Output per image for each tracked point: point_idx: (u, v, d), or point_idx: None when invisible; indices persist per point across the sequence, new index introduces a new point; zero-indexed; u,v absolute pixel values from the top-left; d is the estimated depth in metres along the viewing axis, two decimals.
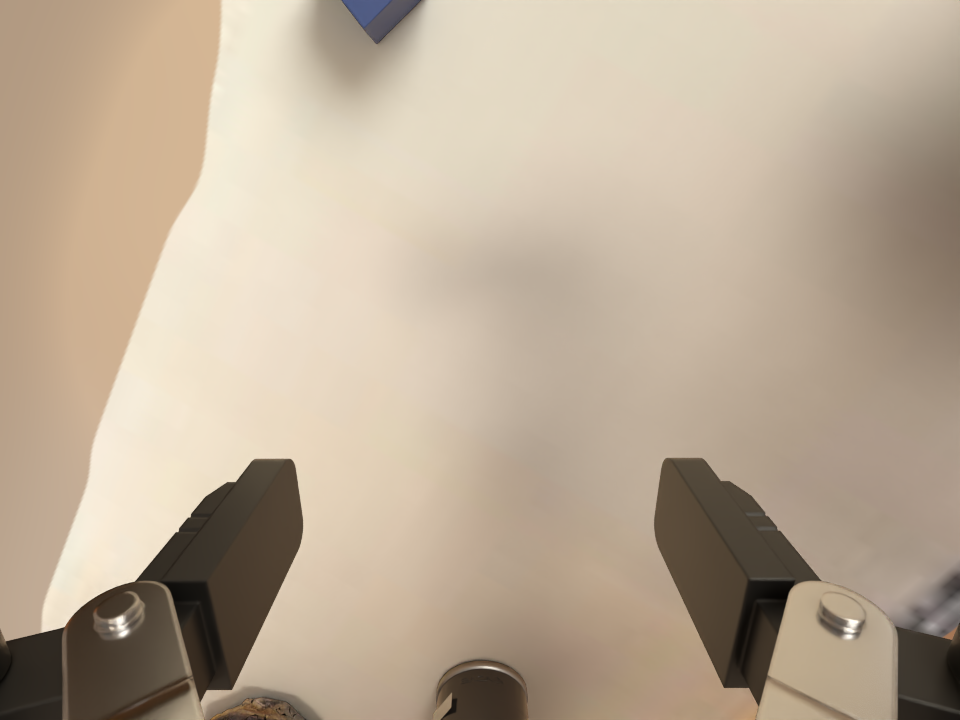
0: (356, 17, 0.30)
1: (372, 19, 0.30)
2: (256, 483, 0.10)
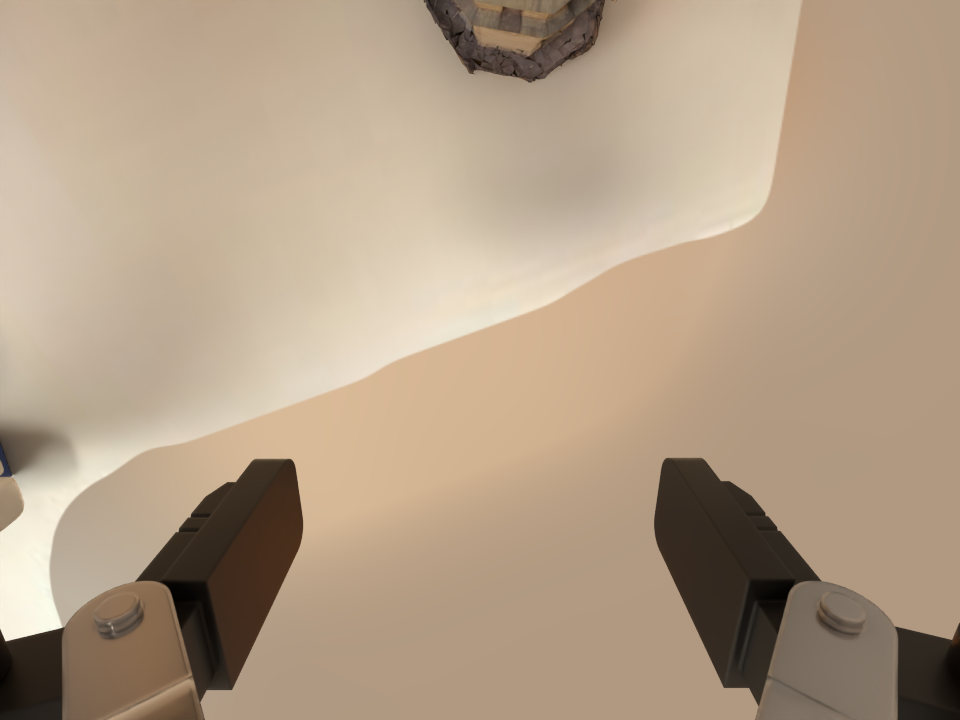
0: None
1: None
2: (256, 484, 0.10)
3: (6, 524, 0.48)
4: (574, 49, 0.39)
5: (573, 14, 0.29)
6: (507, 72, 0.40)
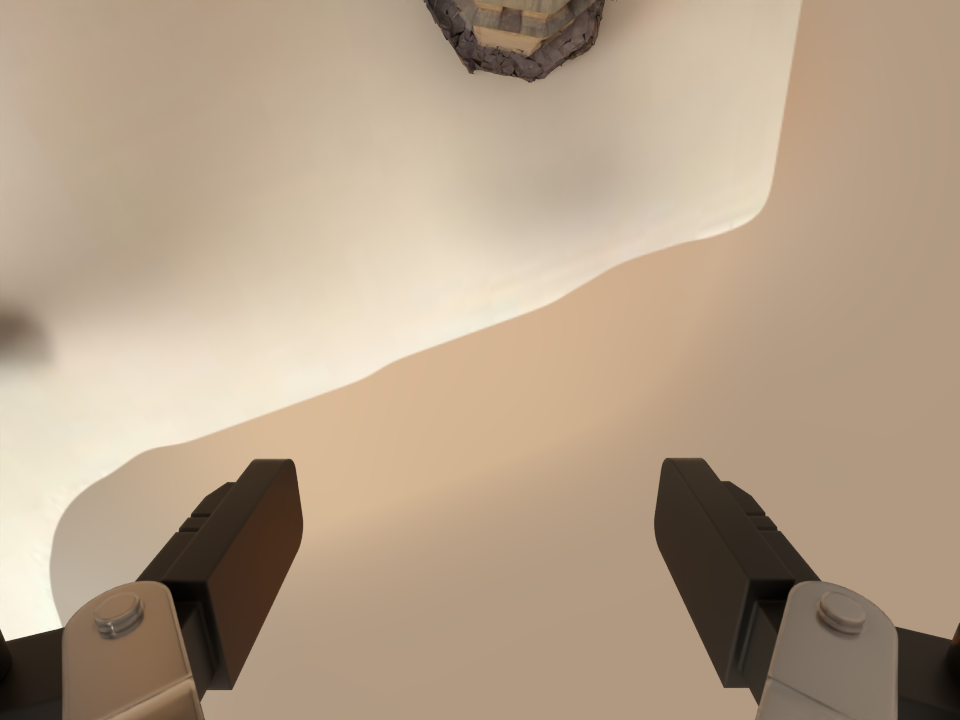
0: None
1: None
2: (256, 484, 0.10)
3: None
4: (574, 49, 0.39)
5: (573, 14, 0.29)
6: (507, 72, 0.40)
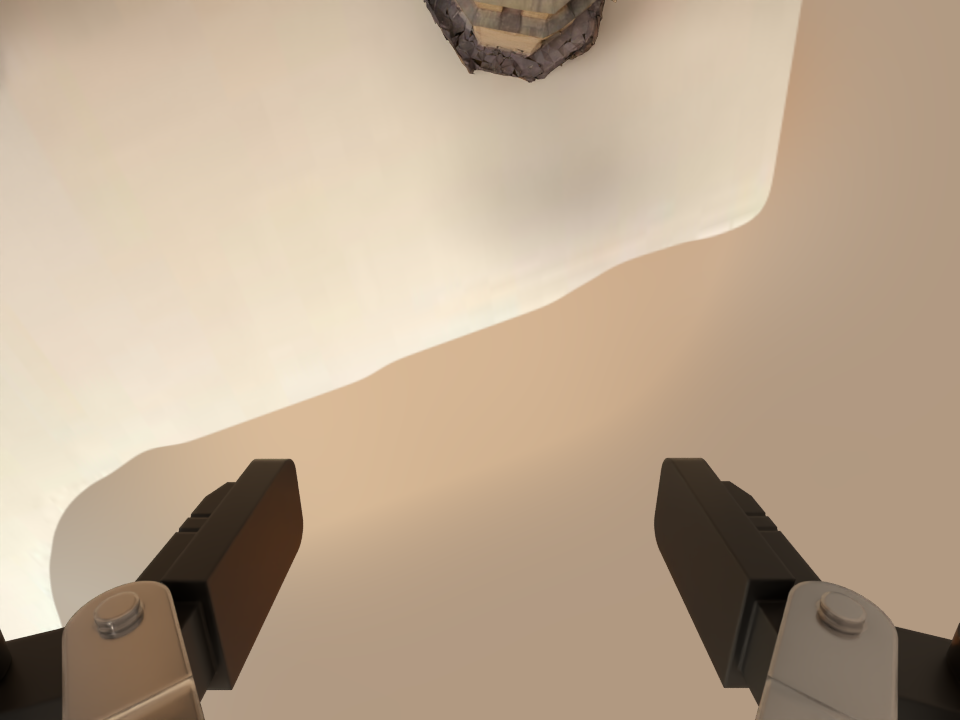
0: None
1: None
2: (256, 484, 0.10)
3: None
4: (574, 49, 0.39)
5: (573, 14, 0.29)
6: (507, 72, 0.40)
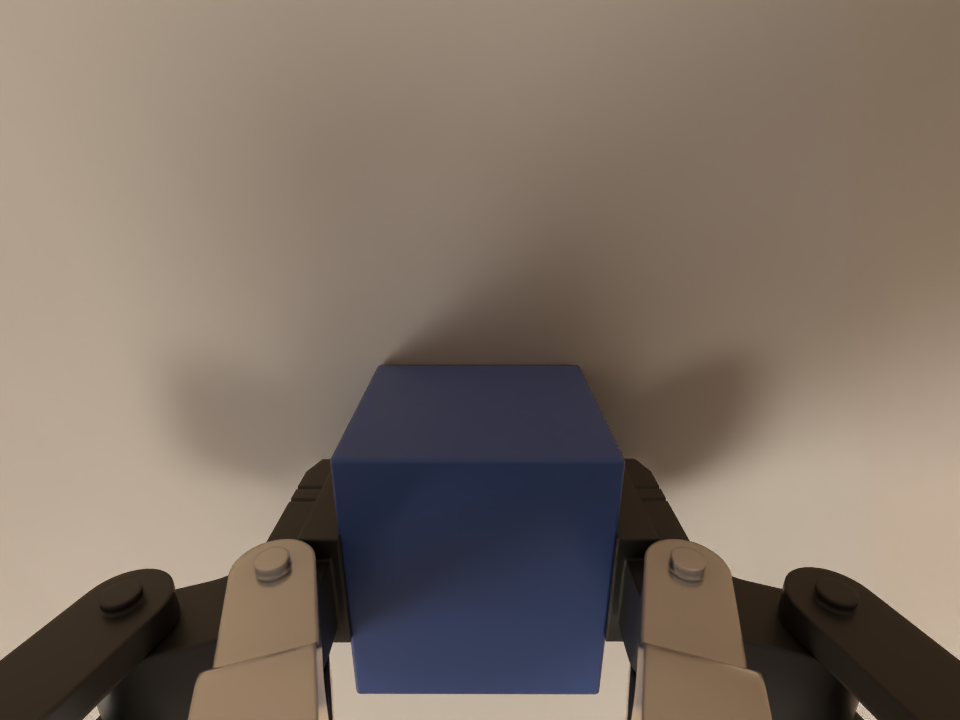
0: (617, 498, 0.08)
1: (581, 461, 0.08)
2: None
3: None
4: None
5: None
6: None
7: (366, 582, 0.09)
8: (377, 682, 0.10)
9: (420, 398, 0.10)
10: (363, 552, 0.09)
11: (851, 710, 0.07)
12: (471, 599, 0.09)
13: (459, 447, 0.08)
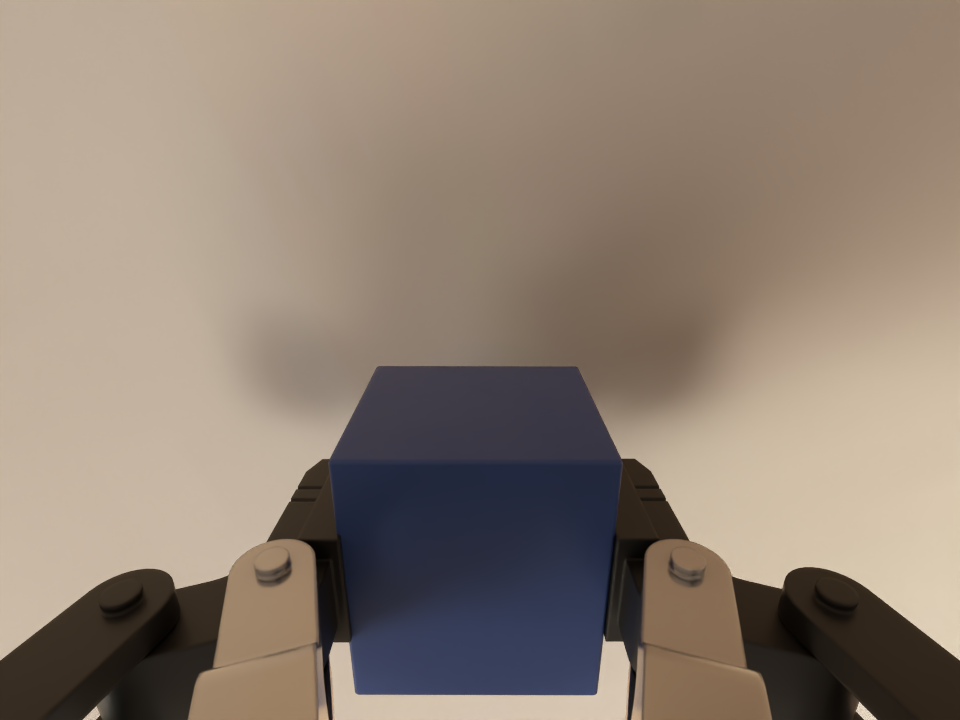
0: (615, 499, 0.08)
1: (578, 463, 0.08)
2: None
3: None
4: None
5: None
6: None
7: (364, 583, 0.09)
8: (375, 683, 0.10)
9: (418, 399, 0.10)
10: (361, 553, 0.09)
11: (850, 709, 0.07)
12: (470, 600, 0.09)
13: (457, 449, 0.08)
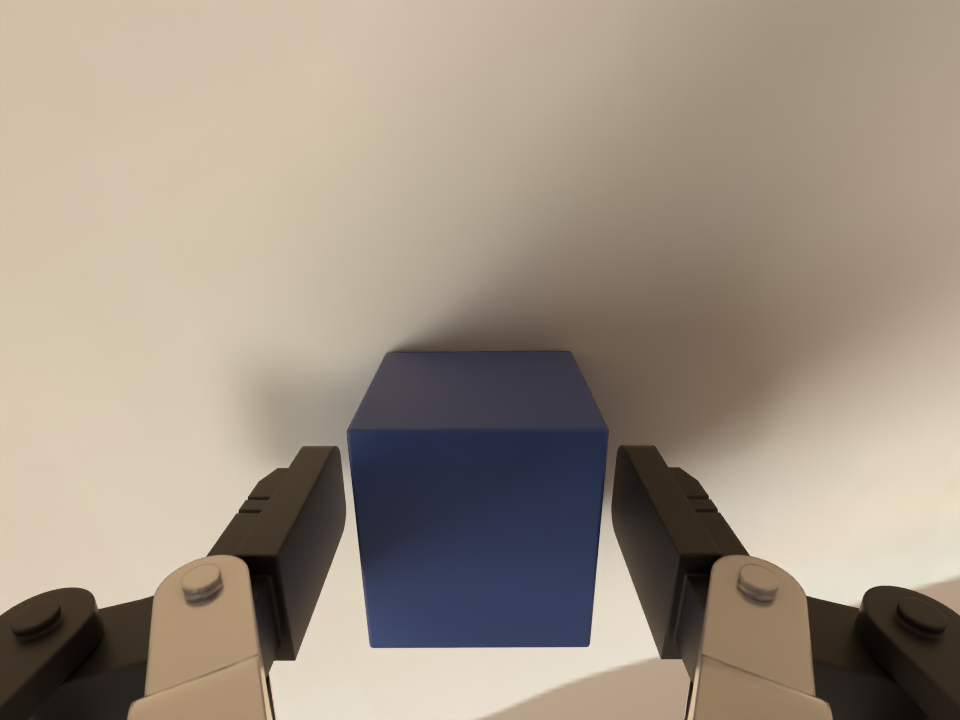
0: (602, 463, 0.09)
1: (569, 430, 0.09)
2: (309, 467, 0.10)
3: None
4: None
5: None
6: None
7: (378, 543, 0.10)
8: (388, 637, 0.11)
9: (425, 380, 0.11)
10: (376, 515, 0.10)
11: None
12: (473, 557, 0.10)
13: (461, 420, 0.09)
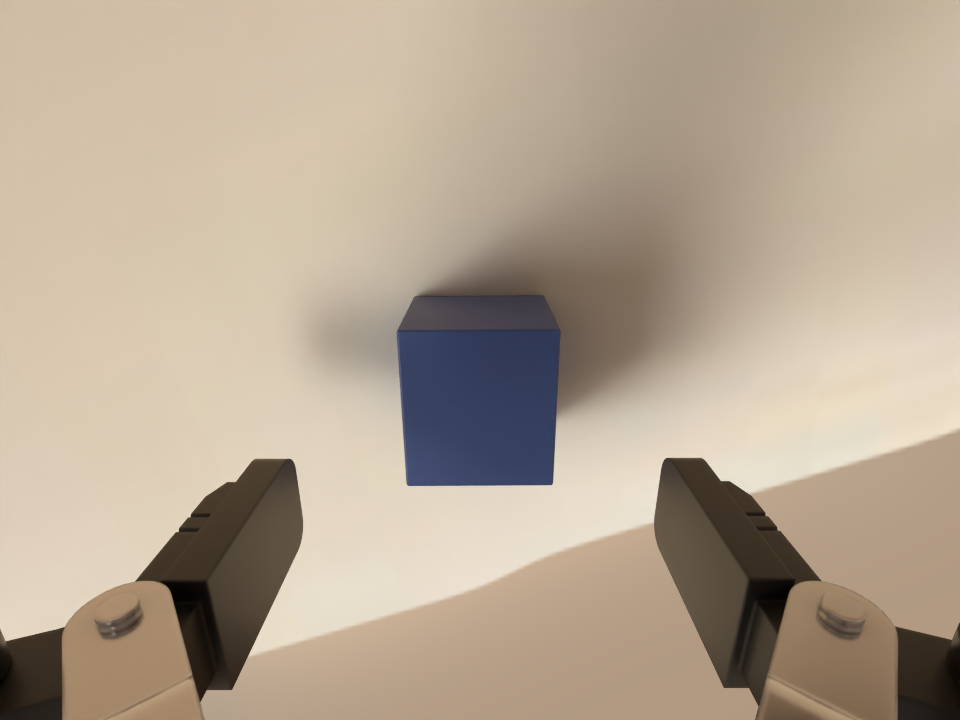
0: (556, 352, 0.15)
1: (535, 330, 0.14)
2: (256, 483, 0.10)
3: None
4: None
5: None
6: None
7: (415, 408, 0.15)
8: (419, 477, 0.16)
9: (443, 309, 0.16)
10: (413, 388, 0.15)
11: None
12: (475, 418, 0.15)
13: (468, 326, 0.15)
